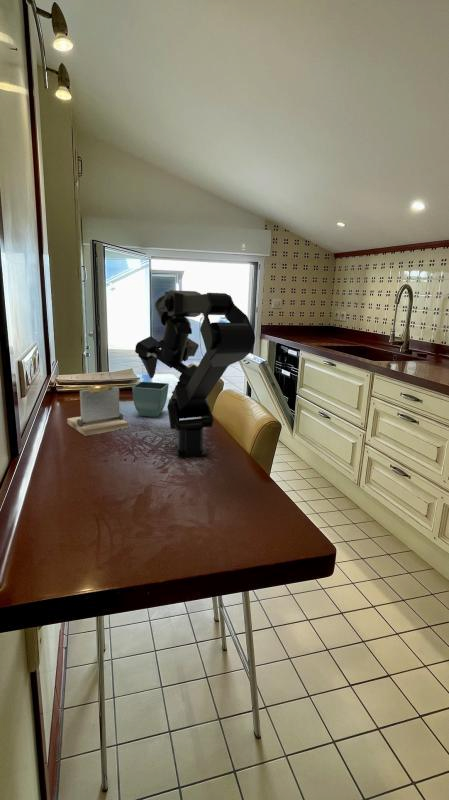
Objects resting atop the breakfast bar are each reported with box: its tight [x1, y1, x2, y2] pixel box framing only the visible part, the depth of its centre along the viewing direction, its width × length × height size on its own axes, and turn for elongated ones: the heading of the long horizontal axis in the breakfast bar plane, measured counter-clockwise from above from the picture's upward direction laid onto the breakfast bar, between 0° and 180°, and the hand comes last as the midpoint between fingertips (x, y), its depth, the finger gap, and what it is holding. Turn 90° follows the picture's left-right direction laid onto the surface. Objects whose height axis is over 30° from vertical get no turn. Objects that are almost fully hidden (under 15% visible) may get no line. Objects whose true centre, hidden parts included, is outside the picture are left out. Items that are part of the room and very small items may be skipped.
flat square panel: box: [79, 384, 120, 425], centre depth 111 cm, size 2×10×10 cm, turn 130°
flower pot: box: [131, 381, 170, 418], centre depth 125 cm, size 9×9×9 cm
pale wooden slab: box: [66, 412, 130, 437], centre depth 114 cm, size 12×12×3 cm
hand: (164, 386), depth 112 cm, fingers open, 9 cm apart
